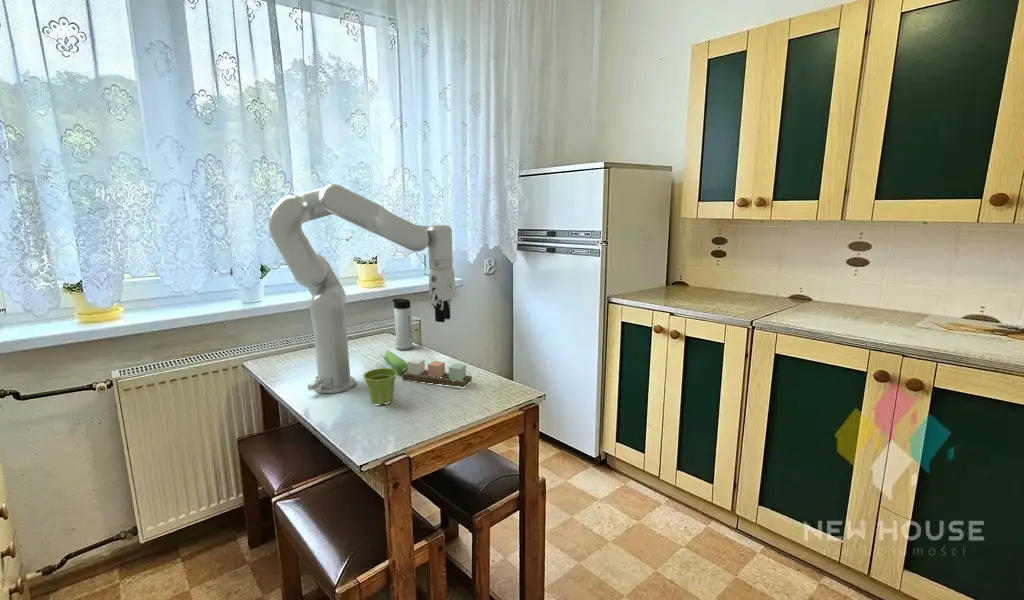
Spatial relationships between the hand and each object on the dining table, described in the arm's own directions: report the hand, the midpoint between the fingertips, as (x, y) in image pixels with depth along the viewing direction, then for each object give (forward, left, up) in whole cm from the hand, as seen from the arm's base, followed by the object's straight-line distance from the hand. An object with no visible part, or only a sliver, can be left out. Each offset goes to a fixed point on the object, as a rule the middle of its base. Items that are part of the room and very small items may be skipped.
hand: (442, 319), depth 160 cm
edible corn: (+1, +20, -20) cm, 28 cm away
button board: (-6, 0, -19) cm, 20 cm away
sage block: (-6, -7, -17) cm, 20 cm away
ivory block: (-6, +8, -17) cm, 20 cm away
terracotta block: (-6, 0, -17) cm, 18 cm away
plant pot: (-25, +8, -20) cm, 33 cm away
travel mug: (+20, +29, -19) cm, 40 cm away
